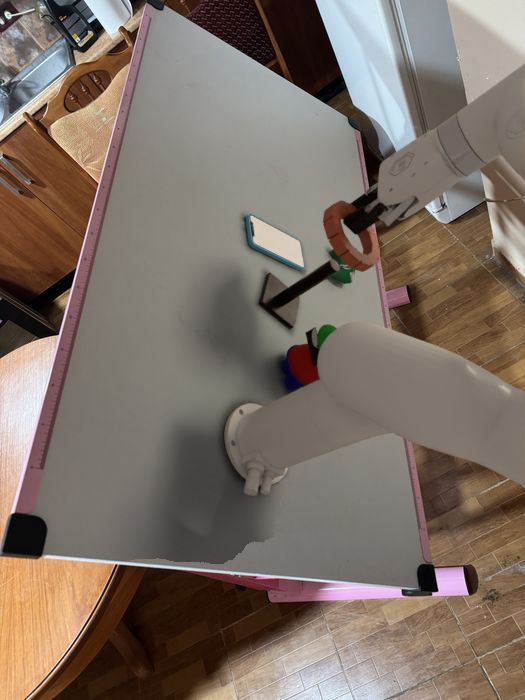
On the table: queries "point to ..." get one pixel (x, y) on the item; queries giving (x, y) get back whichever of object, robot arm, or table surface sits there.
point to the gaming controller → (342, 271)
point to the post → (292, 292)
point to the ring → (343, 244)
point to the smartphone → (274, 242)
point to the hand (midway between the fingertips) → (350, 221)
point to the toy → (304, 359)
